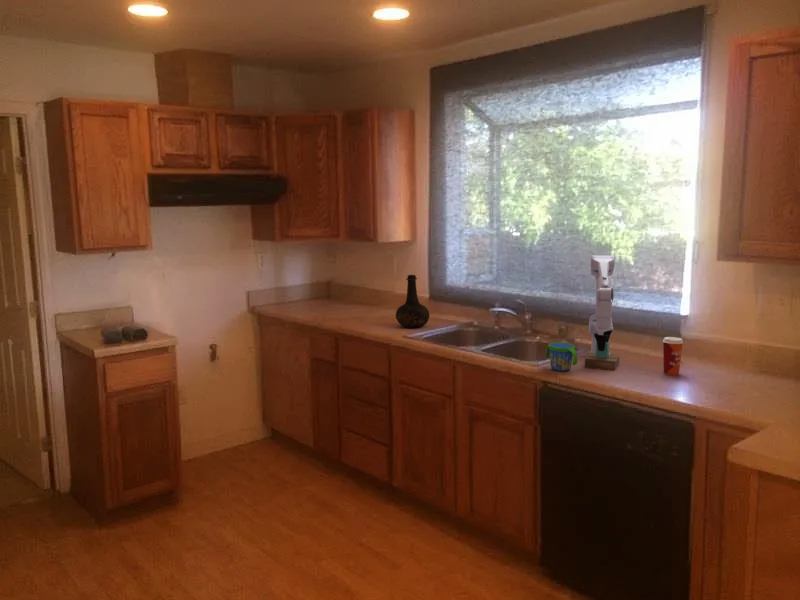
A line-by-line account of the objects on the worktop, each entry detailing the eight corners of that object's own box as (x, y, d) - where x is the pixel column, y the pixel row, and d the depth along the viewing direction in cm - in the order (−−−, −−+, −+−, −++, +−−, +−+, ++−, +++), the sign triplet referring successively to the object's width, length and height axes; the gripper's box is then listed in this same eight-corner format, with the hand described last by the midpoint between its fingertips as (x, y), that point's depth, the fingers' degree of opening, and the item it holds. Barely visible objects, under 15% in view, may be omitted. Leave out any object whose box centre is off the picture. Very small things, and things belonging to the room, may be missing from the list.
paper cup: (675, 376, 274) (677, 341, 272) (657, 373, 280) (658, 338, 278) (685, 373, 279) (687, 338, 277) (667, 369, 285) (669, 335, 283)
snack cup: (584, 372, 281) (585, 347, 280) (563, 375, 277) (563, 350, 275) (558, 364, 295) (559, 340, 294) (538, 367, 291) (539, 342, 289)
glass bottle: (435, 325, 383) (435, 274, 379) (418, 331, 368) (418, 277, 364) (407, 322, 393) (407, 272, 388) (389, 327, 378) (389, 275, 373)
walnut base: (589, 362, 301) (590, 353, 300) (619, 365, 296) (619, 355, 295) (584, 368, 290) (585, 358, 289) (614, 371, 285) (615, 361, 284)
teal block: (597, 355, 295) (598, 341, 294) (608, 356, 293) (609, 342, 292) (595, 357, 291) (596, 343, 290) (607, 358, 289) (607, 344, 288)
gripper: (611, 320, 282) (610, 353, 284) (616, 314, 295) (615, 346, 297) (593, 318, 285) (592, 351, 287) (599, 313, 298) (598, 345, 300)
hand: (602, 349), depth 292 cm, fingers open, 7 cm apart
